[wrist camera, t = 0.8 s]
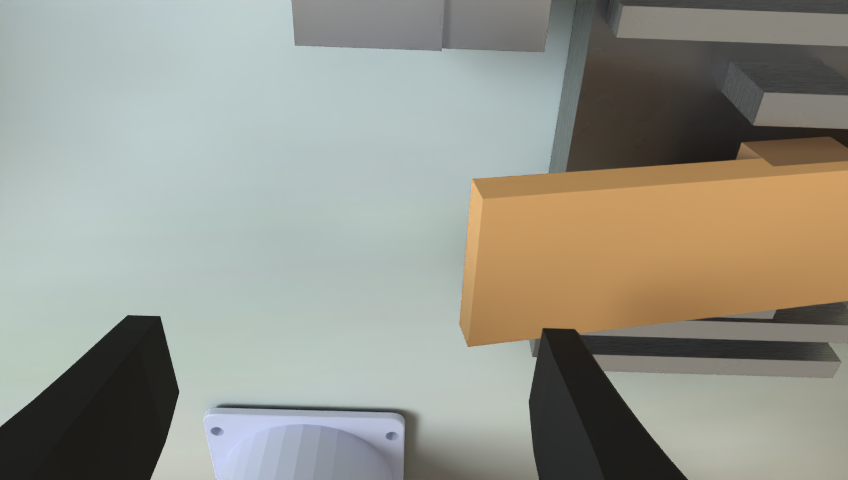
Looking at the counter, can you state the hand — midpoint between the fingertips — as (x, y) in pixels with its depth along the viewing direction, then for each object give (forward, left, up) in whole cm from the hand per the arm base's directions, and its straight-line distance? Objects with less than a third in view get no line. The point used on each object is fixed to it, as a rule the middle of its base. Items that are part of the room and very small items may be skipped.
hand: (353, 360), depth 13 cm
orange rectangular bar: (0, -10, -5) cm, 11 cm away
